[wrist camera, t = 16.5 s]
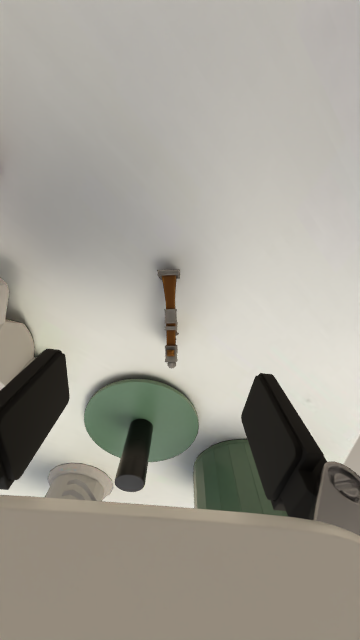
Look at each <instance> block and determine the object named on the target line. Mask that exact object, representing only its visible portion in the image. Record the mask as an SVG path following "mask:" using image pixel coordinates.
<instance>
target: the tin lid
mask: <svg viewBox="0 0 360 640" xmlns="http://www.w3.org/2000/svg"><path fill="white" fill-rule="evenodd" d="M84 422H85V427H86V430H87V432H88V434H89V436H90V437H91V438H92V440H93V441H94V442H95V443H96V444H97V445H98V446H100V447H101V448H102V449H104V450H105V451H107V452H108V453H110V454H112V455H114V456H117V457H119V458H121V459H120V463H119V467H118V470H117V474H116V478H115V485H116V486H117V487H118V488H119V489H121V490H123V491H127V492H136V491H139V490H141V489H142V488H143V487H144V485H145V479H146V473H147V466H148V462H157V461H163V460H167V459H170V458H173V457H175V456H177V455H179V454H181V453H182V452H184V451H185V450H186V449H188V448H189V447H190V446H191V444H192V443H193V442H194V440H195V438H196V436H197V433H198V416H197V413H196V410H195V408H194V406H193V405H192V403H191V402H190V401H189V400H188V398H186V397H185V396H184V395H183V394H182V393H181V392H179V391H178V390H176V389H174V388H172V387H171V386H168V385H166V384H163V383H160V382H157V381H153V380H147V379H127V380H121V381H117V382H114V383H111V384H109V385H107V386H105V387H103V388H102V389H100V390H99V391H98V392H96V393H95V394H94V396H93V397H92V398H91V399H90V401H89V403H88V404H87V407H86V409H85V414H84Z"/></svg>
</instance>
